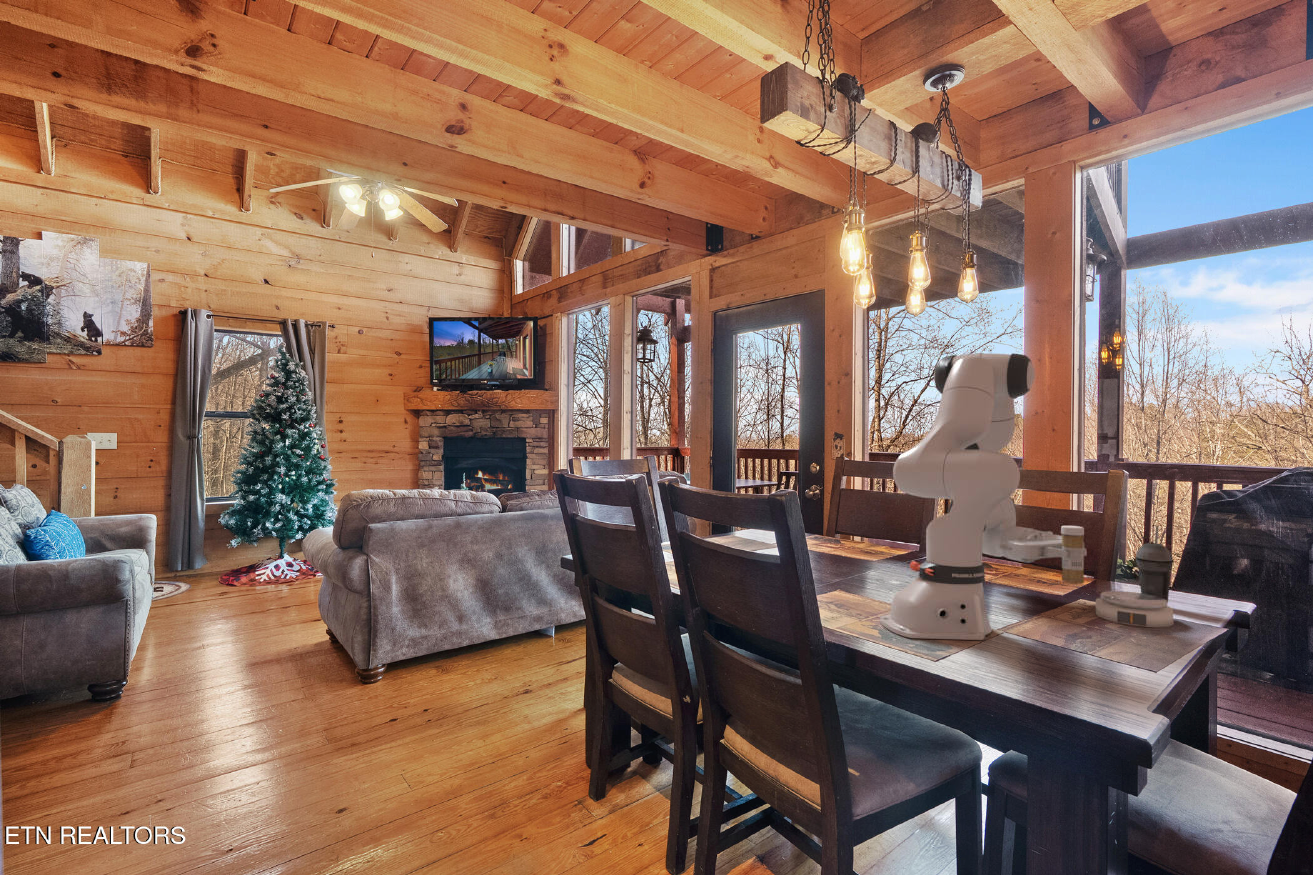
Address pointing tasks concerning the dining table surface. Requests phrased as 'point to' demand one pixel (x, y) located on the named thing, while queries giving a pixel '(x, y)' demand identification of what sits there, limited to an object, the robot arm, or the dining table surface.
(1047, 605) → the dining table surface
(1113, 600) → the scale pan
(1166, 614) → the scale base
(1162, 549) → the beverage cup
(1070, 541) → the sprinkles bottle
